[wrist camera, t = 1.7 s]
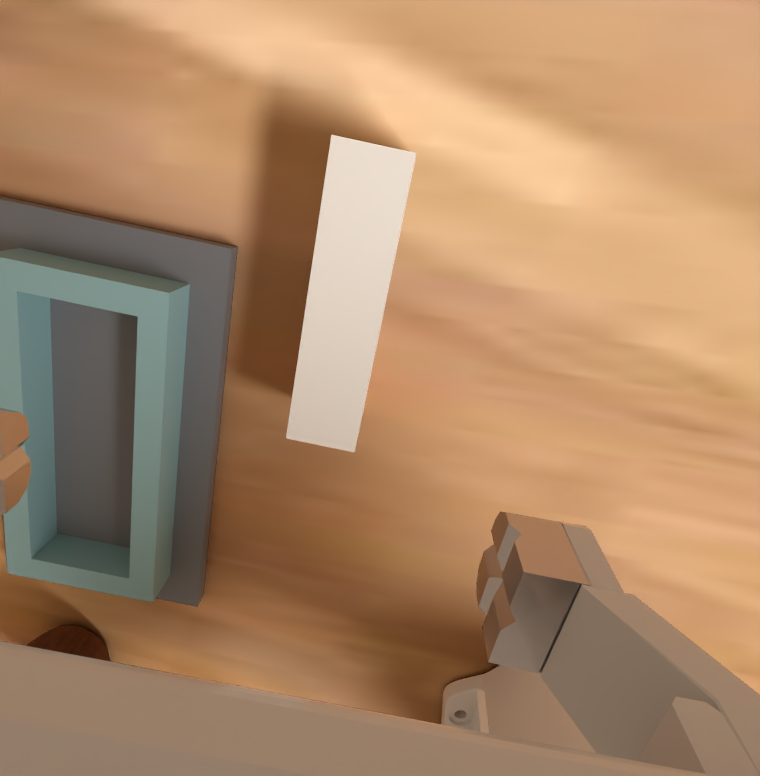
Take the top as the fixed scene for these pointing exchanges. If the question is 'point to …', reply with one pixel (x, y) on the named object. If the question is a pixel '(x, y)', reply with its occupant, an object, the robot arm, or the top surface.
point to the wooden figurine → (72, 642)
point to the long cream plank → (348, 289)
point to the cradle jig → (113, 398)
